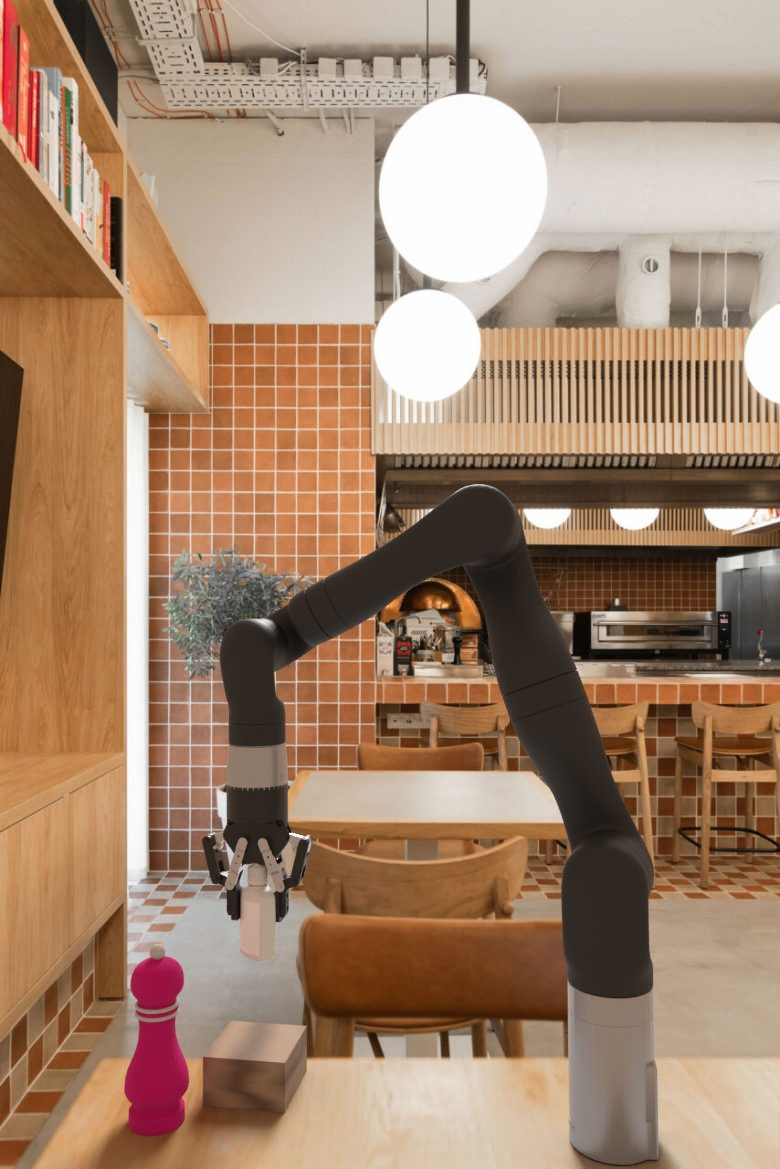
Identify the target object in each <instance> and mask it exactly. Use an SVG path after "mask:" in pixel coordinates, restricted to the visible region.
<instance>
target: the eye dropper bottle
mask: <svg viewBox="0 0 780 1169" xmlns="http://www.w3.org/2000/svg"><path fill="white" fill-rule="evenodd" d="M268 874H269V873H268V870H267V867H266V865H260V864H257V863H253V864H249V865H248V867H247V884H246V885H244V886H242V889H241V893H240V919H239V951H240V953H241V955H242V956H243V957H245V958H247V959H248V960H252V961H256V962H264V961H269V960H272V959H275V957H276V942H277V941H276V940H277V939H276V938H277V937H276V931H277V930H276V929H277V928H276V927H277V926H276V923H277V922H276V909H275V895H274V892H275V891H274V890H273V889H272V888H271V886H269V884H268V882H269V881H268V879H269V878H268V877H269V875H268Z"/></svg>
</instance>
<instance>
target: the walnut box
mask: <svg viewBox="0 0 780 1169" xmlns="http://www.w3.org/2000/svg"><path fill="white" fill-rule="evenodd" d="M307 1027H308V1026H307V1025H297V1024H284V1023H283V1024H282V1023H281V1024H280V1023H267V1022H256V1021H255V1022H254V1021H241V1020H239V1021H238V1020H230V1021H229V1023H228V1024H227V1025H226V1027H225V1028H224V1029H223V1030H222V1032H221V1033H220V1034H219V1035H218V1037H217V1038H216V1039H215V1040H214V1042H213V1043H212V1044H211V1045H210V1047H209V1049H208V1050H207V1051H206V1052H205V1053H204V1055H203V1056H202V1106H205V1107H216V1108H229V1109H239V1110H249V1111H250V1110H251V1111H260V1112H261V1111H263V1112H272V1113H275V1112H276V1113H284V1114H285V1113H286V1112H287V1110H288V1108H289V1106H290V1104H291V1102H292V1100H293V1098H294V1096H295V1094H296V1092H297V1090H298V1088H299V1086H300V1084H301V1083H302V1081H303V1079H304V1077H305V1076H306V1073H307V1071H308V1067H307V1066H308V1064H307V1063H308V1055H307V1054H308V1051H307V1050H308V1046H307V1045H308V1043H307V1042H308V1040H307V1038H308V1035H307V1034H308V1032H307V1029H308V1028H307Z"/></svg>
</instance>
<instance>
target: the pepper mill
mask: <svg viewBox="0 0 780 1169" xmlns="http://www.w3.org/2000/svg"><path fill="white" fill-rule="evenodd" d="M149 949H150V950H149V957H147V958H145V959H143V960H141V962H139V963H138V964H137V965H136V967H135V968H134V970H133V972H132V974H131V977H130V984H129V986H130V987H129V988H130V991H131V994H132V995H133V997H134V998H135V1000H137V1001H136V1002H135V1004H134V1008H135V1011H134V1017H135V1018H136V1020H138V1039H137V1043H136V1047H135V1050H134V1053H133V1055H132V1058H131V1060H130V1062H129V1065H128V1067H127V1070H126V1073H125V1078H124V1089H123V1090H124V1095H125V1097H126V1099H127V1100H128V1102H129V1103H130V1106H129V1108H128V1123H127V1125H128V1128H129V1129H130V1131H132V1133H135V1134H137V1135H140V1136H144V1137H145V1136H147V1137H149V1136H150V1137H151V1136H152V1137H153V1136H162V1135H164V1134H169V1133H171V1132H173V1131H175V1130H176V1129H178V1128H179V1127H181V1125H182V1124H183V1123H184V1122H185V1118H186V1102H185V1100H184V1098H183V1097H184V1095H185V1094H186V1092H187V1091H188V1089H189V1086H190V1085H189V1084H190V1073H189V1072H190V1071H189V1067H188V1064H187V1061H186V1058H185V1056H184V1053H183V1051H182V1049H181V1046H180V1043H179V1041H178V1040H179V1039H178V1037H177V1033H176V1032H177V1031H176V1018H177V1016H178V1015H179V1013H180V1012H181V1011H180V1010H181V1009H180V1003H181V1002H180V998H179V997H178V996H179V995H180V993H181V992H182V990H183V988H184V984H185V975H184V974H185V973H184V969H183V966H182V965H181V964H180V963H179V961H178V960H176V959H175V958H173V957H170V956H167V955H166V948H165V946H164V945H163V944H161V943H156V944H153V945H152V946H151V947H150V948H149Z"/></svg>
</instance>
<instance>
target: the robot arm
mask: <svg viewBox="0 0 780 1169" xmlns="http://www.w3.org/2000/svg"><path fill="white" fill-rule="evenodd" d="M532 563H533V562H532V559H531V555H530V552H529V548H528V544H527V540H526V535H525V532H524V526H523V522H522V518H521V515H520V513H519V511H518V509H517V507H516V506H515V505H514V503H513V502H512V501H511V500H510V499H509V497H508V496H507V495H506V494H504V492H502V491H501V490H499V489H498V488H496V487H494V486H491V485H488V484H487V485H486V484H482V483H481V484H480V483H479V484H477V483H476V484H471V485H466V486H463V487H462V488H459V489H457V490H456V491H455V492H454V493H452V494H451V495H450V496H448V497H447V498H446V499H445V500H443V501H442V502H440V504H438V505H437V506H436V507H434V508H433V509H432V510H430V511H429V512H428V513H426V514H425V515H424V516H422V517H421V518H420V519H419V520H417V521H416V522H415V523H414V524H412V525H411V526H409V527H408V528H406V529H405V530H404V531H403V532H401V533H400V534H398V535H396V536H394V537H393V538H392V539H391V540H389V541H388V542H386V543H384V544H382V545H381V546H380V547H378V548H376V549H374V550H373V551H371V552H369V553H368V554H366V555H363V557H360V558H359V559H357V560H355V561H353V562H351V563H350V564H348V565H346V566H344V567H342V568H341V569H338V570H337V571H335V572H333V573H331V574H329V575H327V576H325V577H324V578H322V579H319V580H318V581H316V582H315V583H312V584H311V585H309V586H308V587H305V588H303V589H302V590H300V591H299V592H297V593H295V595H293V596H292V597H291V599H290V600H289V602H288V603H287V604H286V605H284V606H282V607H281V608H279V609H277V610H275V611H274V612H272V613H270V614H268V615H265V616H264V617H262V618H242V619H240V620H237V621H235V622H233V623H231V625H229V627H227V629H226V630H225V632H224V634H223V636H222V638H221V643H220V649H219V666H220V672H221V679H222V684H223V690H224V695H225V699H226V701H227V706H228V750H227V758H226V771H225V780H226V825H225V827H224V829H223V830H222V831H219V832H215V831H211V832H209V833H207V834H206V835H205V836H204V837H203V838H202V839H201V844H202V847H203V852H204V855H205V856H204V857H205V861H206V865H207V868H208V869H207V870H208V872H209V874H208V875H209V877H210V881H211V883H212V885H213V884H214V885H220V886H223V888H225V890H226V891H225V892H226V913H227V916H230V920H231V921H234V922H236V921H240V893H241V889H242V888H243V885H241V884H240V883H241V880H242V877H243V875H244V872H245V869H246V867H247V865H252V864H253V863H257V864H260V865H266V867H267V870H268V874H269V875H268V876H270V877H271V880H272V882H273V886H274V888H275V891H273V892H274V895H275V909H276V923H282V921H283V920H284V919H285V917H286V916H287V915H288V913H289V911H290V903H289V902H290V893H289V892H290V889H292V888H297V887H299V885H300V884H301V883H302V882H303V881H304V878H305V875H306V871H307V867H308V863H309V858H310V854H311V851H312V850H311V849H312V846H313V842H314V838H313V835H311V834H305V835H301V834H297V833H294V832H293V831H292V828H291V827H290V824H289V779H288V778H289V772H288V770H289V769H288V767H289V763H288V754H287V744H286V739H287V738H286V733H287V732H286V727H287V726H286V723H287V722H286V721H287V720H286V716H287V715H286V708H285V703H284V700H282V698H280V697H279V696H278V695H277V690H276V681H275V673H277V671H280V670H283V669H284V668H285V667H288V666H289V665H291V664H293V663H294V662H296V661H297V660H299V659H300V658H303V656H304V655H306V654H308V653H310V652H311V651H313V649H314V648H316V647H317V646H319V645H321V644H323V643H326V642H329V641H331V640H333V639H334V638H337V637H339V636H340V635H342V634H344V633H346V632H348V631H349V630H352V629H354V628H355V627H357V626H359V625H361V624H362V623H364V622H366V621H367V620H369V619H371V618H372V617H374V616H375V615H377V614H378V613H379V612H381V611H382V610H383V609H385V608H387V606H389V605H390V604H391V603H393V602H394V601H395V600H397V599H398V598H399V597H401V596H402V595H404V594H405V593H407V592H408V591H409V590H411V589H413V588H414V587H416V586H418V585H420V584H421V583H422V582H425V581H427V580H428V579H431V578H432V577H435V576H437V575H440V574H441V573H445V572H447V571H450V570H453V569H455V568H458V567H463V569H464V570H465V573H466V574H467V576H468V579H469V580H470V583H471V585H472V588H473V590H474V592H475V594H476V598H477V599H478V601H479V604H480V607H481V609H482V612H483V615H484V619H485V624H486V630H487V634H488V641H489V648H490V652H491V653H490V654H491V658H492V659H491V660H492V663H493V664H492V665H493V670H494V674H495V677H496V681H497V686H498V688H499V692H500V695H501V696H502V700H503V703H504V706H505V709H506V712H507V715H508V718H509V720H510V722H511V725H512V727H513V730H514V732H515V734H516V737H517V739H518V741H519V743H520V744H521V746H522V748H523V750H524V751H525V754H526V755H527V756H528V758H529V759H530V761H531V762H532V764H533V766H534V767H535V768H536V770H537V771H538V772H539V774H540V776H541V777H542V778H543V780H544V782H545V784H546V785H547V786H548V788H549V790H550V791H551V793H552V795H553V797H554V798H553V799H554V800H555V802H556V805H557V807H558V810H559V813H560V816H561V819H562V822H563V825H564V829H565V832H566V835H567V840H568V844H569V848H570V854H569V856H568V858H567V859H566V861H565V863H564V865H563V868H562V874H561V884H560V885H561V886H560V887H561V890H560V892H561V893H560V896H561V897H560V898H561V902H560V903H561V904H560V906H561V927H562V928H561V929H562V950H563V951H562V952H563V955H564V960H565V962H566V970H567V971H566V972H567V973H566V974H567V977H566V978H567V1032H568V1033H567V1040H568V1044H567V1046H568V1048H567V1049H568V1050H567V1051H568V1055H567V1056H568V1126H569V1127H568V1128H569V1130H568V1131H569V1133H568V1134H569V1135H568V1136H569V1141H570V1143H571V1145H572V1146H573V1148H574V1149H576V1151H578V1152H579V1153H580V1154H582V1155H583V1156H585V1157H587V1158H589V1159H592V1160H594V1161H596V1162H599V1163H606V1164H608V1165H623V1166H624V1165H634V1164H639V1163H642V1162H645V1161H647V1160H648V1161H649V1160H651V1161H652V1160H653V1161H658V1160H659V1159H660V1157H659V1154H660V1153H659V1149H660V1148H659V1101H658V1100H659V1098H658V1096H659V1090H658V1086H659V1085H658V1066H657V1063H656V1059H655V1020H654V1019H655V1018H654V1016H655V1014H654V1013H655V1012H654V1010H655V1008H654V1004H655V1003H654V964H653V961H652V958H651V951H650V950H651V949H650V922H649V921H650V920H649V919H650V917H649V916H650V914H649V911H650V910H649V907H650V906H649V904H650V903H649V898H650V894H651V892H652V889H653V886H654V881H655V870H654V869H655V868H654V863H653V859H652V856H651V854H650V851H649V849H648V847H647V845H646V843H645V841H644V840H643V837H642V836H641V834H640V831H639V830H638V828H637V826H636V824H635V822H634V820H633V818H632V816H631V814H630V811H629V809H628V807H627V806H626V803H625V802H624V799H623V798H622V795H621V793H620V791H619V789H618V786H617V783H616V780H615V778H614V776H613V773H612V770H611V766H610V763H609V760H608V756H607V753H606V749H605V747H604V743H603V740H602V735H601V732H600V731H599V727H598V724H597V721H596V718H595V715H594V712H593V710H592V707H591V703H590V700H589V698H588V695H587V692H586V689H585V686H584V683H583V681H582V678H581V675H580V673H579V671H578V668H577V666H576V663H575V661H574V659H573V657H572V654H571V652H570V650H569V647H568V645H567V643H566V641H565V638H564V637H563V635H562V633H561V631H560V628H559V626H558V624H557V622H556V620H555V618H554V616H553V615H552V614H553V613H551V611H550V609H549V607H548V604H547V603H546V601H545V599H544V597H543V594H542V592H541V588H540V586H539V584H538V580H537V578H536V574H535V570H534V566H533V564H532ZM224 842H226V844H227V846H228V847H229V848H230V850H231V852H232V853H233V856H232V859H231V862H230V865H229V869H228V870H229V871H228V872H227V867H226V864H225V861H224V856H223V852H222V849H223V848H224V845H225V844H224ZM289 843H290V845H291V850H292V853H294V854H295V856H294V860H293V865H292V869H291V873H290V875H288V871H287V868H286V862H285V858H284V854H283V853H282V852H283V851H284V849H285V848H286V846H287V845H288V844H289Z"/></svg>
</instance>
